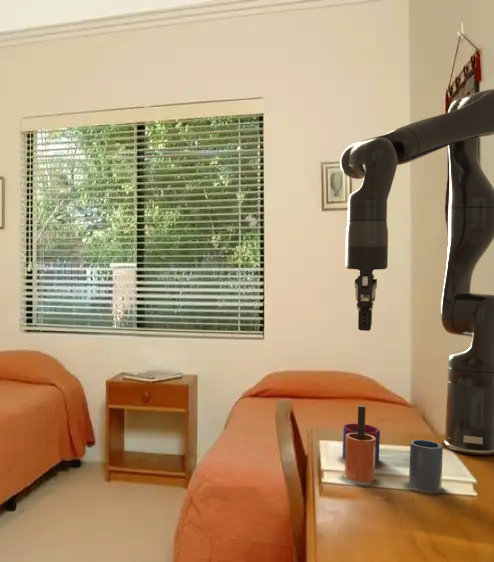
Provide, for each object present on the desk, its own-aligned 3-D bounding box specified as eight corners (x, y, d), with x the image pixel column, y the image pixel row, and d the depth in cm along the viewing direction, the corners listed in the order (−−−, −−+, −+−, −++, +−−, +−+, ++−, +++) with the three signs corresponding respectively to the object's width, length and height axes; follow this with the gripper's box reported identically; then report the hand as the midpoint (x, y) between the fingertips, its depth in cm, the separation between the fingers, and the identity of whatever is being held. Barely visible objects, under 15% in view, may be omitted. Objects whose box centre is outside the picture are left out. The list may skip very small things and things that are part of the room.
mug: (381, 460, 119) (382, 427, 119) (371, 475, 111) (372, 439, 110) (346, 454, 123) (347, 421, 122) (334, 467, 114) (335, 432, 114)
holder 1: (360, 474, 111) (361, 431, 111) (380, 483, 107) (382, 439, 106) (338, 477, 110) (339, 434, 109) (358, 486, 105) (359, 442, 105)
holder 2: (423, 482, 108) (425, 438, 107) (447, 492, 103) (449, 446, 103) (402, 485, 106) (403, 441, 106) (425, 496, 101) (427, 449, 101)
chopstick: (356, 475, 109) (358, 404, 108) (363, 476, 108) (365, 405, 108) (355, 477, 108) (358, 406, 107) (363, 478, 107) (365, 407, 107)
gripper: (388, 244, 107) (386, 333, 108) (387, 245, 121) (385, 325, 121) (343, 244, 111) (342, 331, 111) (347, 245, 124) (346, 323, 124)
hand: (365, 327), depth 116 cm, fingers open, 8 cm apart
